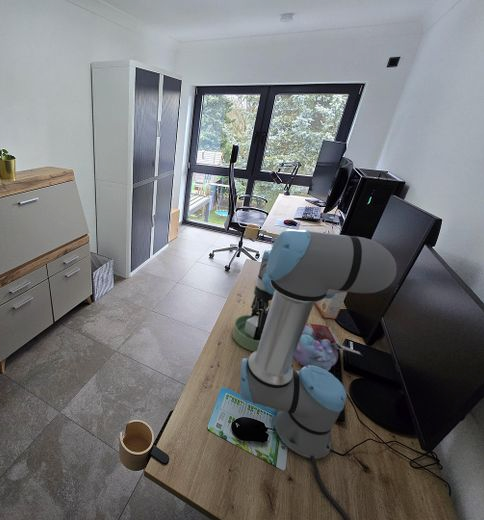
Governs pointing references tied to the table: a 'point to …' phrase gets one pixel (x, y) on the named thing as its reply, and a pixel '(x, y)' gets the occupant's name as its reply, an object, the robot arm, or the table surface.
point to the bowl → (244, 334)
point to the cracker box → (331, 305)
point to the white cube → (251, 325)
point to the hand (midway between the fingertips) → (254, 332)
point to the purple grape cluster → (319, 347)
